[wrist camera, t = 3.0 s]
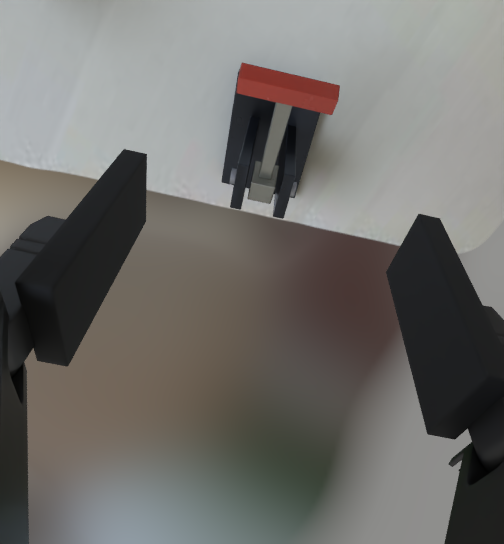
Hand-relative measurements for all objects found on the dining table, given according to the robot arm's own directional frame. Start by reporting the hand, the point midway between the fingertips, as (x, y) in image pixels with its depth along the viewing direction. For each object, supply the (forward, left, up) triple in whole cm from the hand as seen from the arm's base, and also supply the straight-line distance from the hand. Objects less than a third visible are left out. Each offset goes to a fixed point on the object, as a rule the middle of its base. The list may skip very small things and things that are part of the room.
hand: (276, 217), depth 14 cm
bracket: (+3, +9, -32) cm, 33 cm away
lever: (+2, +4, -19) cm, 20 cm away
